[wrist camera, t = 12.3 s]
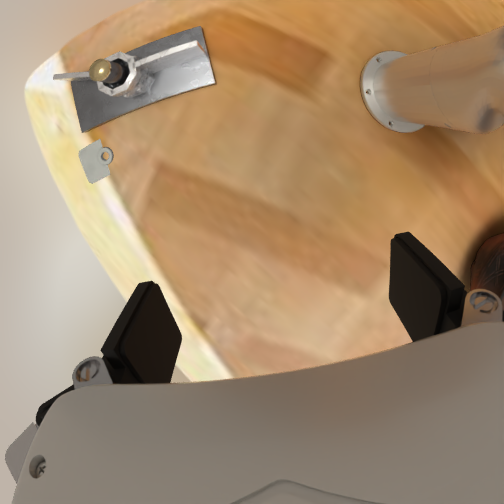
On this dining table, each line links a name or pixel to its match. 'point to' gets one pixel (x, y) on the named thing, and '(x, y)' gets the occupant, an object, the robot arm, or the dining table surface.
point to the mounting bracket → (95, 161)
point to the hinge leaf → (85, 77)
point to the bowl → (490, 267)
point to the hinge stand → (147, 78)
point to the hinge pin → (108, 72)
